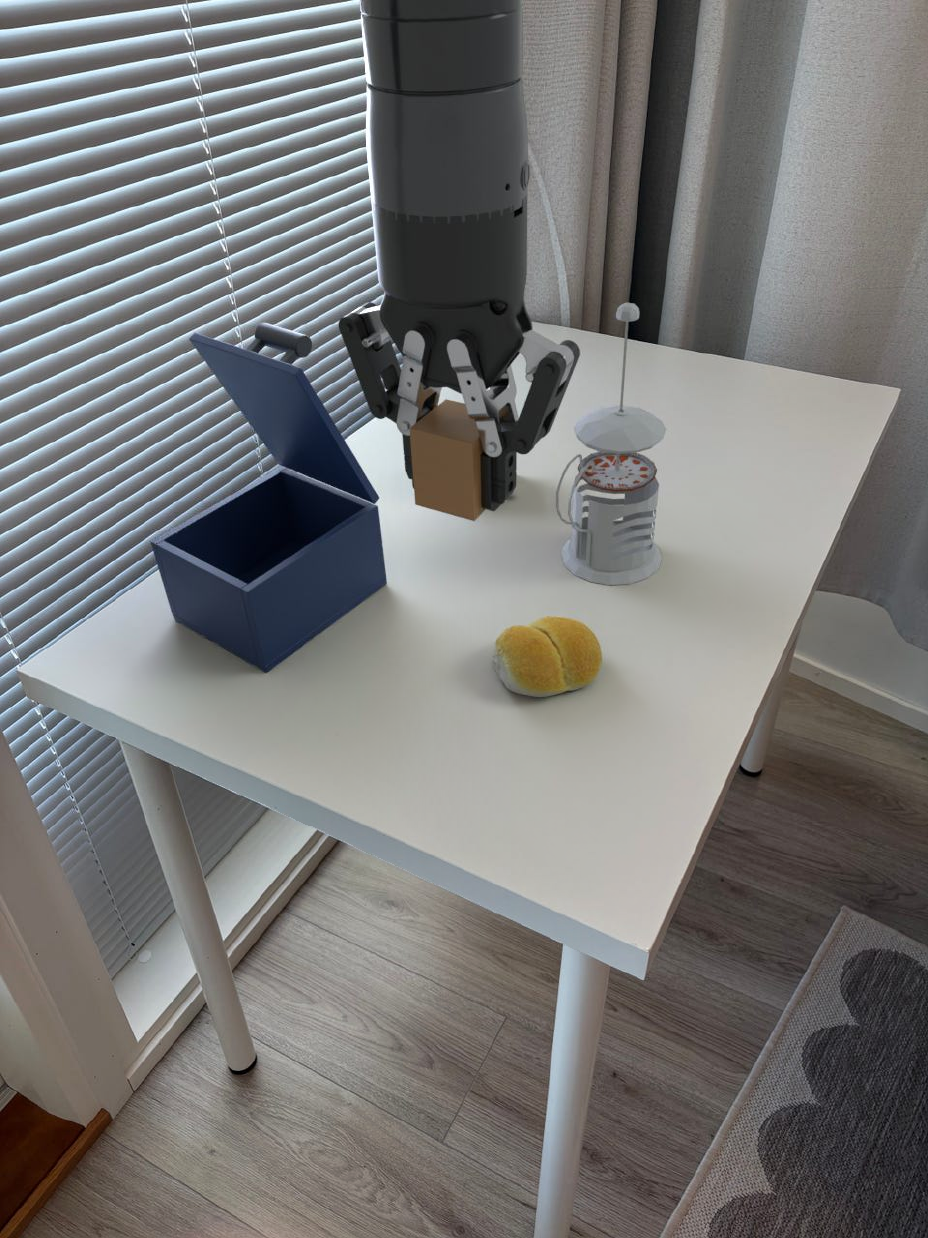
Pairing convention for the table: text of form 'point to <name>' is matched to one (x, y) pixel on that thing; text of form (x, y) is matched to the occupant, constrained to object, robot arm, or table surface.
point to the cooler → (272, 565)
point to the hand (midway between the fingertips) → (461, 492)
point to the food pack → (447, 461)
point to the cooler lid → (285, 407)
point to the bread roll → (547, 657)
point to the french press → (615, 491)
